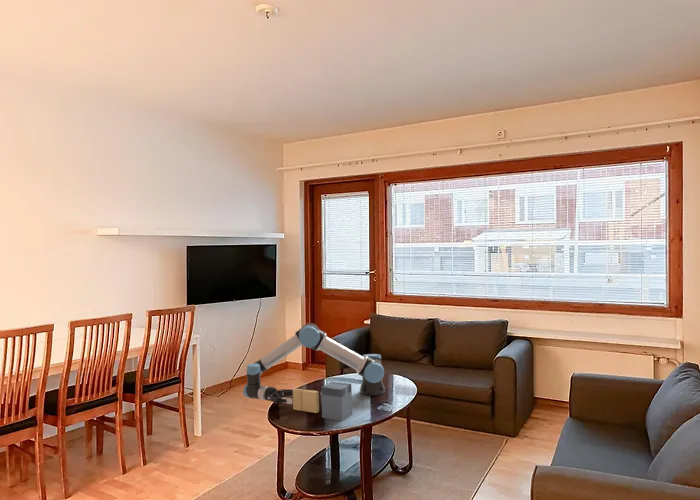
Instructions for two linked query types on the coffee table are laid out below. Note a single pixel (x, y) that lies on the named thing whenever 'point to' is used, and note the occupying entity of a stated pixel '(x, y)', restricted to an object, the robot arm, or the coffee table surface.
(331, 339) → the robot arm
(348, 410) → the dispenser
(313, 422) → the coffee table surface
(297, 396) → the taped cardboard box
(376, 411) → the coffee table surface
